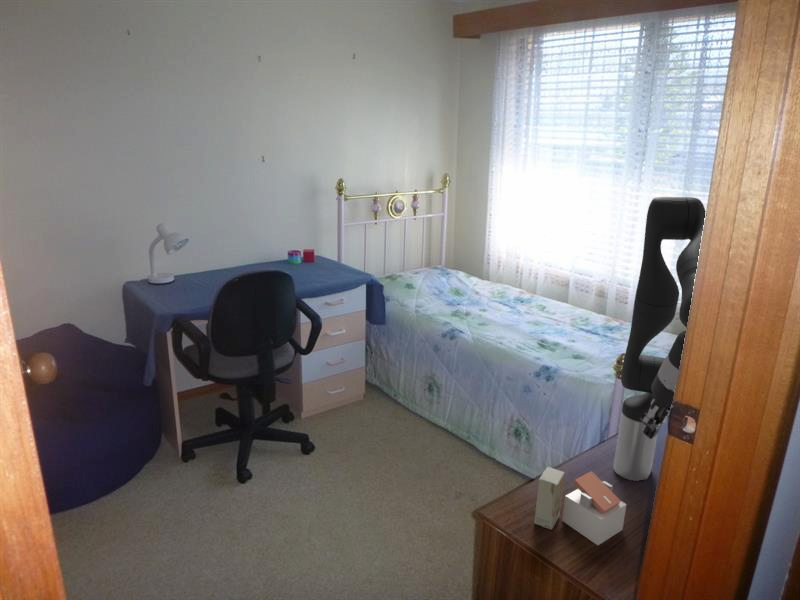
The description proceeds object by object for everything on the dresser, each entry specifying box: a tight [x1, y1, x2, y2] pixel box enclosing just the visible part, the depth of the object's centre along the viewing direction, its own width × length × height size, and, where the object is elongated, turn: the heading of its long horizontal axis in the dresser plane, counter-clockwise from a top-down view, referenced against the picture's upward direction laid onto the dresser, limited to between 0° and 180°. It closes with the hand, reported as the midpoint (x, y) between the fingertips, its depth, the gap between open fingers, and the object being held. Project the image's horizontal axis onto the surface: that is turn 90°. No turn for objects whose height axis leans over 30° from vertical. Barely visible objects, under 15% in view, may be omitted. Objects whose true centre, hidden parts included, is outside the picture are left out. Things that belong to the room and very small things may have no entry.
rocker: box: [572, 470, 621, 514], centre depth 135 cm, size 6×9×2 cm, turn 36°
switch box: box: [561, 480, 627, 546], centre depth 137 cm, size 9×10×10 cm
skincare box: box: [534, 466, 565, 530], centre depth 138 cm, size 6×4×12 cm
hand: (648, 434), depth 126 cm, fingers closed
